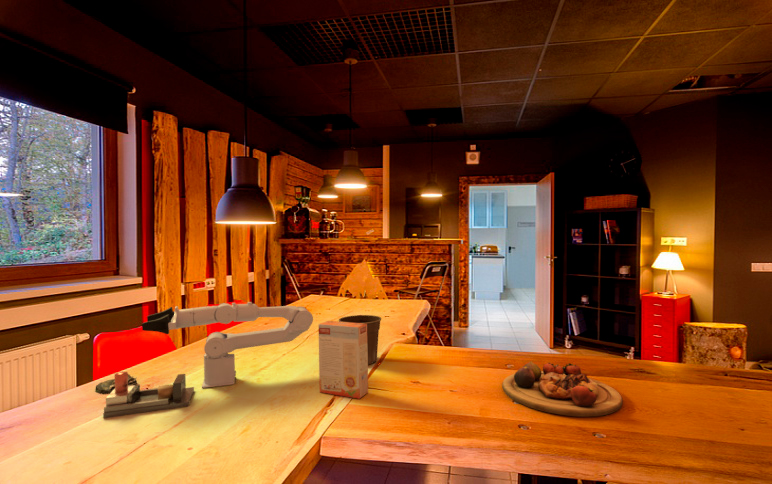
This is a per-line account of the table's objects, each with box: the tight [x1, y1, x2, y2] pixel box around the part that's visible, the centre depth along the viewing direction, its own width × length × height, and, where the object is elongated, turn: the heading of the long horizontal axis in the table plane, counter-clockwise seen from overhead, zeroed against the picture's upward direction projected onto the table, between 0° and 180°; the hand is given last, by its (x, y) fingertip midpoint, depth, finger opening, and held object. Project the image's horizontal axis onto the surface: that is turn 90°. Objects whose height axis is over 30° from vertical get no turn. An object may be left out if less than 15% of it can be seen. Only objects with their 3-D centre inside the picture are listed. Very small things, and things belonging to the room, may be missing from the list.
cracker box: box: [318, 320, 369, 400], centre depth 117 cm, size 14×6×21 cm, turn 65°
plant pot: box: [338, 314, 382, 365], centre depth 148 cm, size 16×16×16 cm
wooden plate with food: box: [501, 361, 624, 418], centre depth 114 cm, size 32×32×8 cm
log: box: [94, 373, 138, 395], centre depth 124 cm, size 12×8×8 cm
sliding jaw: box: [105, 371, 141, 407], centre depth 109 cm, size 6×8×8 cm
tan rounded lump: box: [157, 384, 173, 400], centre depth 112 cm, size 4×4×3 cm
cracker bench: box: [102, 373, 195, 419], centre depth 111 cm, size 20×12×6 cm, turn 109°
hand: (145, 323), depth 119 cm, fingers open, 7 cm apart
